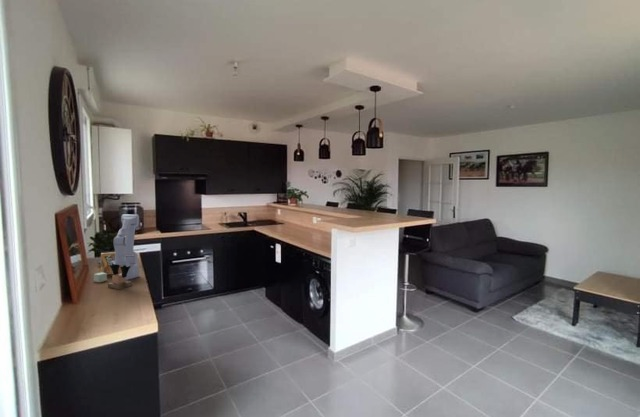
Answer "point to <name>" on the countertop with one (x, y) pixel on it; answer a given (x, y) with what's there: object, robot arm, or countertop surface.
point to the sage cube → (100, 277)
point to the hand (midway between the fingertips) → (120, 276)
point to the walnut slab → (119, 285)
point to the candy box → (107, 262)
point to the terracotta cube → (118, 279)
